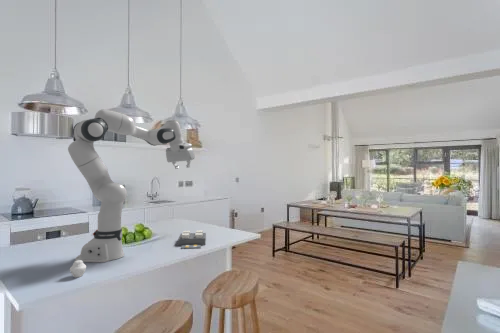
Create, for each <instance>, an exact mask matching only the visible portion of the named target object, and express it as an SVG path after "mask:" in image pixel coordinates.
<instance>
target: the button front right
mask: <svg viewBox="0 0 500 333" xmlns="http://www.w3.org/2000/svg"><path fill="white" fill-rule="evenodd" d="M195 233H196V232H195ZM195 238H202V233H196V234H195Z"/></svg>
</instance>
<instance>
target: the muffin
mask: <svg viewBox="0 0 500 333" xmlns="http://www.w3.org/2000/svg"><path fill="white" fill-rule="evenodd" d="M86 269H87V265H86V264H85V262H83V261H82V260H77V261H75V260H74V262H73V264H72V265H71V266H70V268H69V272H70V274H71V275H72V276H73V278H80V277H83V276H84V273H85V272H86Z"/></svg>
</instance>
